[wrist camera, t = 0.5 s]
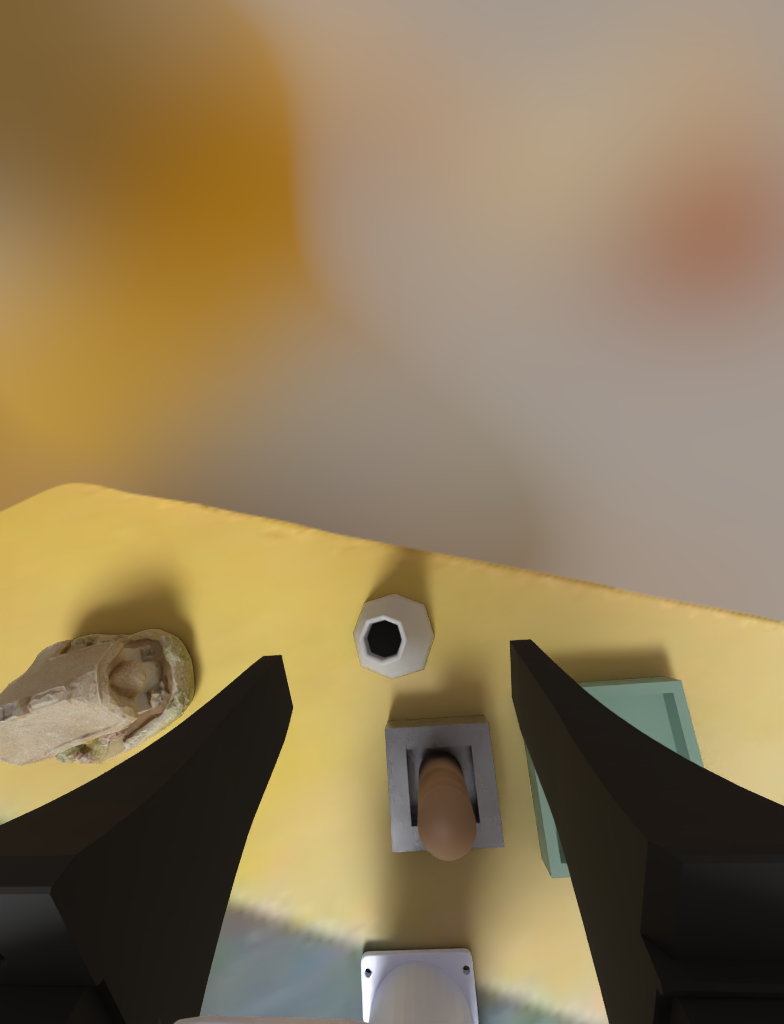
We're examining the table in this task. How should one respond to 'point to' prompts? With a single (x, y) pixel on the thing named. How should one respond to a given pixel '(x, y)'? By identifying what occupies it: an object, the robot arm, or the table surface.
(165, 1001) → the robot arm
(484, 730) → the square metal dish
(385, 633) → the flask
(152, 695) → the ceramic model
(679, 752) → the tray
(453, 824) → the pin
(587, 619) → the table surface
